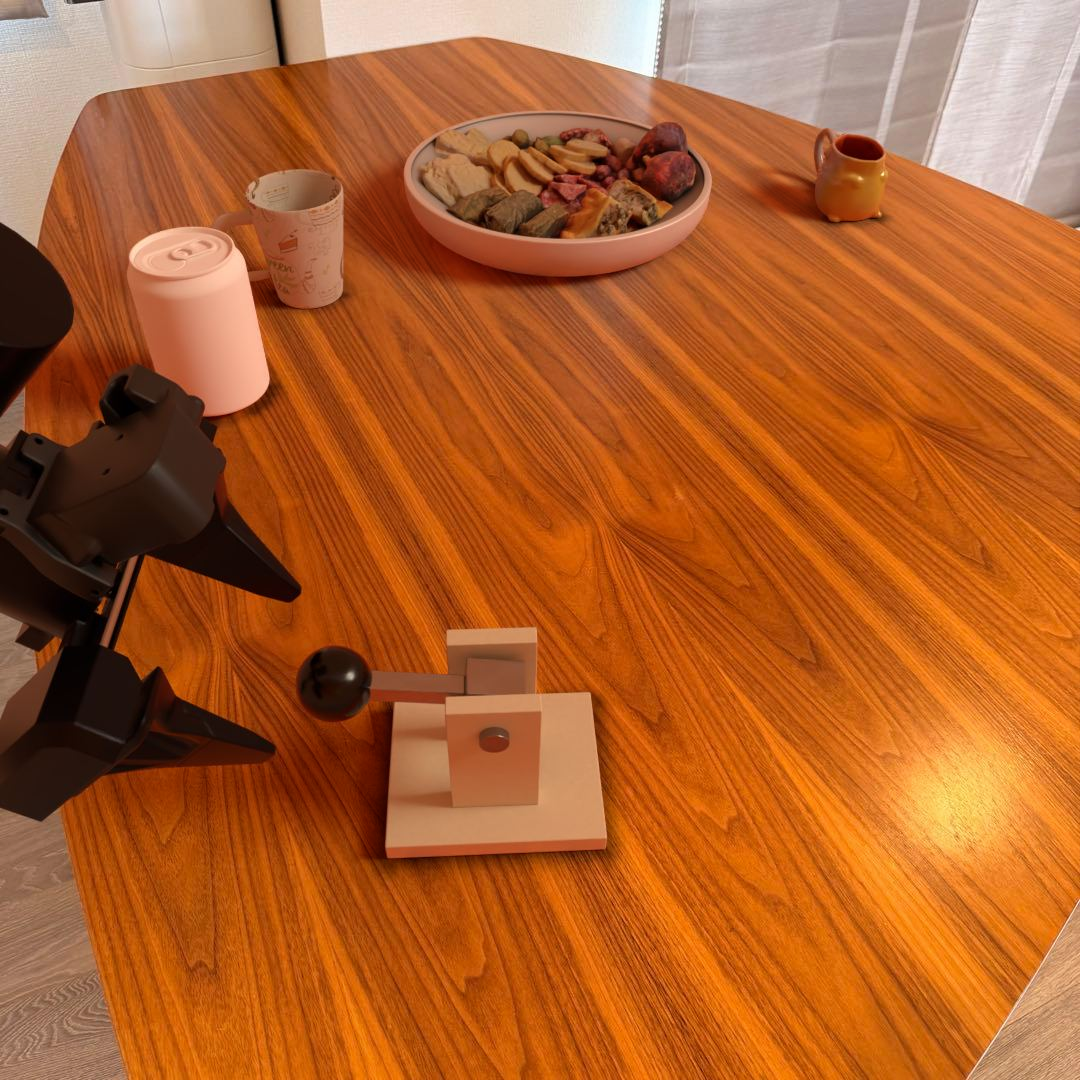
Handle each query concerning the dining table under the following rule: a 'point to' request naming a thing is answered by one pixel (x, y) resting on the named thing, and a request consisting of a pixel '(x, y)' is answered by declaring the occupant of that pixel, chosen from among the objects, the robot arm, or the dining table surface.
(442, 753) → the bracket
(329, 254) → the mug
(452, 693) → the lever
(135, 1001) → the dining table surface
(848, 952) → the dining table surface
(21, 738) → the robot arm
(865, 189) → the mug
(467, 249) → the bowl
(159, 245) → the beverage can
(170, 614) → the dining table surface
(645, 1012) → the dining table surface
